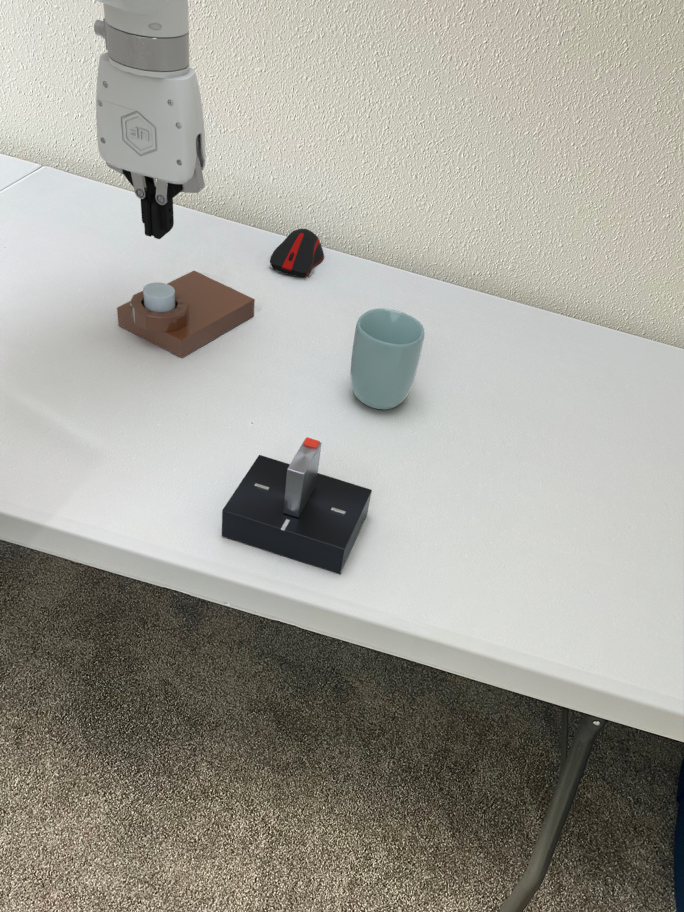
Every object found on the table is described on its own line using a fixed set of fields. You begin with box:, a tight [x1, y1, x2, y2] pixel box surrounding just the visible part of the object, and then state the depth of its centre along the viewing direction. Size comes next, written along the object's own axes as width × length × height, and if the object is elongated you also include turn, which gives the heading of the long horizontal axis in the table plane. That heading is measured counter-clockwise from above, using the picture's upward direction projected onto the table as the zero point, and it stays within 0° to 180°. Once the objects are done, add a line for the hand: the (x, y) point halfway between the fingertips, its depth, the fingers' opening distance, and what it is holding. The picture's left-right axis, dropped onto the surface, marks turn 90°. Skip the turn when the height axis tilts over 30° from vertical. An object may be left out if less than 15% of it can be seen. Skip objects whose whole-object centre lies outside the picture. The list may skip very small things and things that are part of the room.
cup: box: [349, 307, 426, 410], centre depth 92 cm, size 8×8×10 cm
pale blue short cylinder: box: [142, 281, 175, 312], centre depth 93 cm, size 4×4×2 cm
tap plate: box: [221, 454, 373, 575], centre depth 76 cm, size 12×9×4 cm
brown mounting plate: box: [116, 270, 256, 359], centre depth 98 cm, size 15×10×4 cm, turn 150°
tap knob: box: [283, 436, 323, 518], centre depth 73 cm, size 5×2×6 cm, turn 166°
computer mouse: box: [269, 228, 325, 278], centre depth 115 cm, size 6×11×4 cm, turn 167°
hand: (158, 232), depth 88 cm, fingers closed
